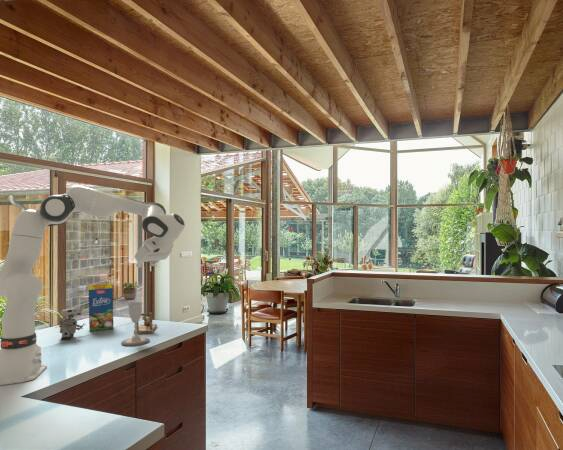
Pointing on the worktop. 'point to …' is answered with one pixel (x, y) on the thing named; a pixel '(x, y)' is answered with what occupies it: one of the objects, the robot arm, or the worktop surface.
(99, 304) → the blue food package
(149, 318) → the toy catapult
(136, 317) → the chalice
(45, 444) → the worktop surface
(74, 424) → the worktop surface
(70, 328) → the figurine
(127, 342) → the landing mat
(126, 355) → the worktop surface
